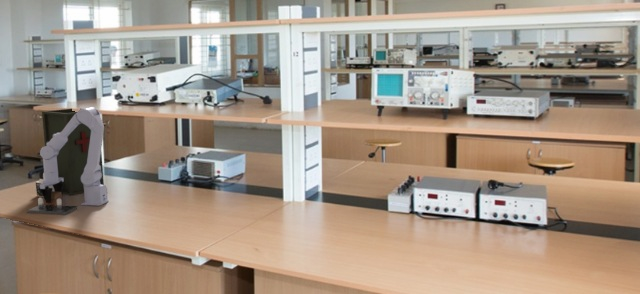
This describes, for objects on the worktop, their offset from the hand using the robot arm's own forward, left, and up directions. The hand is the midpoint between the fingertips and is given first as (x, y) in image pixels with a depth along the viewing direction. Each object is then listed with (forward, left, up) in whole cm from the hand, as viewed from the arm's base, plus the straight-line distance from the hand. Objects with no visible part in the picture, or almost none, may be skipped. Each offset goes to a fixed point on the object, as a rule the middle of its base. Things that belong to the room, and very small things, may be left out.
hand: (53, 200), depth 259 cm
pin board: (-7, +11, -1) cm, 13 cm away
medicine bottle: (+12, -13, -2) cm, 18 cm away
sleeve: (0, 0, -1) cm, 1 cm away
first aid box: (+5, -26, -2) cm, 27 cm away
